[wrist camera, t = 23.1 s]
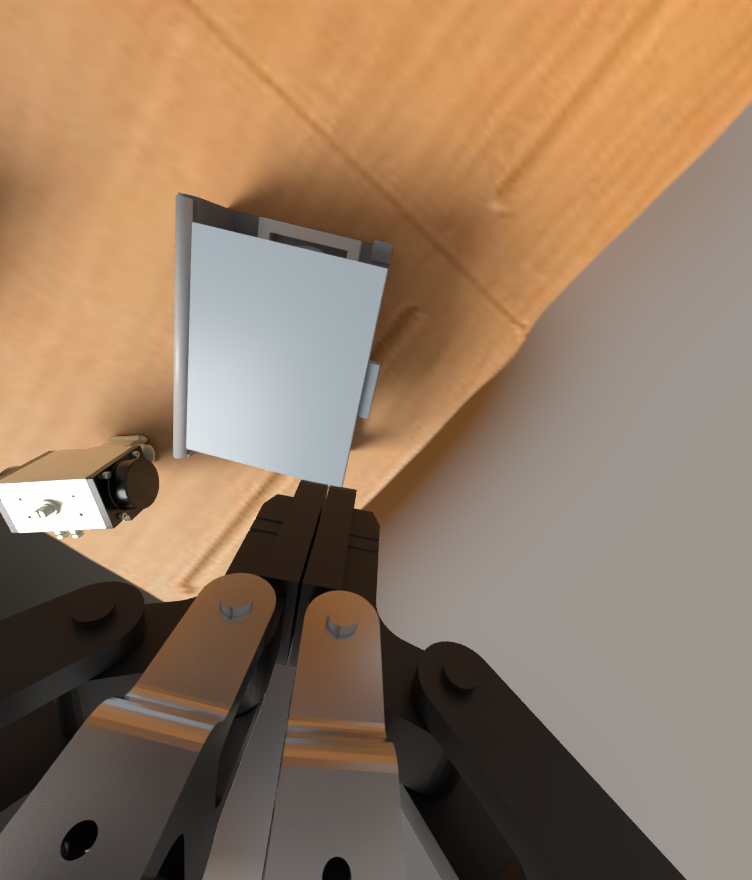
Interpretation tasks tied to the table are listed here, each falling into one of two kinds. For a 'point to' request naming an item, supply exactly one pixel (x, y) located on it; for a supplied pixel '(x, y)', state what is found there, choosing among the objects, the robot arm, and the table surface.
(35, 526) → the pneumatic valve
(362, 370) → the lid
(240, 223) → the housing
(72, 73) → the table surface
